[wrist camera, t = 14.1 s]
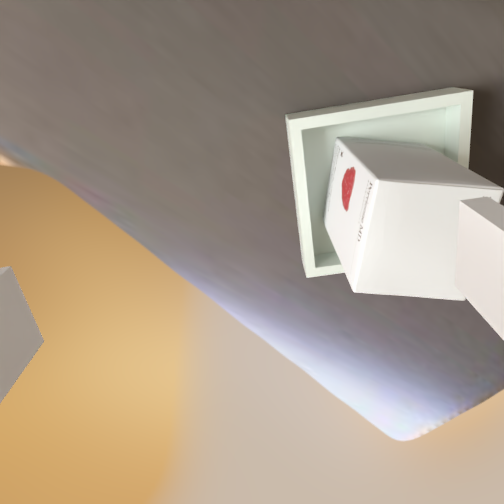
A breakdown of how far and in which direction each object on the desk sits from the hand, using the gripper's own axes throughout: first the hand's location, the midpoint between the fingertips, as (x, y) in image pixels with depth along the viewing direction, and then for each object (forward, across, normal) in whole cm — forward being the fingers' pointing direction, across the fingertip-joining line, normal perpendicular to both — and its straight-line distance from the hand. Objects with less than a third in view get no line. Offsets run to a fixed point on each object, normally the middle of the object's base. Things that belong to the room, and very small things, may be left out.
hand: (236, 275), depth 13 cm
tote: (+32, +12, -8) cm, 35 cm away
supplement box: (+31, +12, -8) cm, 34 cm away
